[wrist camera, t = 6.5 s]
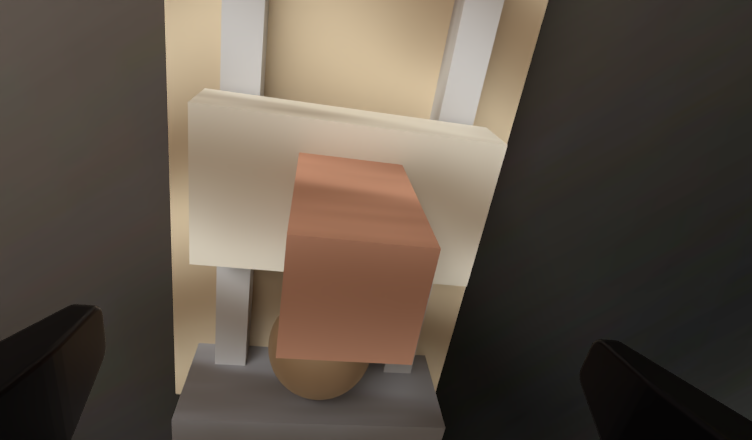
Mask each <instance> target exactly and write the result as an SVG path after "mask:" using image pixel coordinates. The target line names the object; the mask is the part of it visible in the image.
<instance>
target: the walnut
mask: <svg viewBox="0 0 752 440" xmlns="http://www.w3.org/2000/svg"><path fill="white" fill-rule="evenodd" d="M279 316H280V314H279ZM279 316H278V317H277V319H276V320H275V322H274V324H273V326H272V329H271V332H270V336H269V342H268V353H269V359H270V363H271V366H272V369H273V371H274V373H275V375H276V377H277V378H278V380H279V381H280V382H281V383H282V384H283V385H284V386H285V387H286V388H287V389H288V390H290V391H291V392H293V393H294V394H296V395H298V396H301V397H303V398H307V399H312V400H326V399H331V398H335V397H337V396H340V395H342V394H344V393H345V392H347V391H349V390H350V389H352V388H353V387H354V386H355V385H356V384H357V383H358V382H359V381H360V379H361V378H362V377H363V375H364V374H365V372H366V370H367V368H368V366H369V363H363V362H343V361H324V360H304V359H285V358H276V350H277V339H278V328H279Z"/></svg>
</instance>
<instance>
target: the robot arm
mask: <svg viewBox="0 0 752 440" xmlns="http://www.w3.org/2000/svg"><path fill="white" fill-rule="evenodd" d="M105 350H106V342H105V333H104V324H103V315H102V311H101V309H100V308H99V307H98V306H94V305H79V304H73V305H70V306H68V307H66V308H64V309H62V310H60V311H58V312H56V313H54V314H52V315H50V316H48V317H46V318H44V319H42V320H41V321H39V322H37V323H35V324H33V325H31V326H29V327H27V328H25V329H23V330H21V331H19V332H17V333H15V334H13V335H12V336H10V337H8V338H6V339H4V340H2V341H0V440H71V438H72V436H73V434H74V431H75V429H76V426H77V424H78V421H79V419H80V416H81V414H82V411H83V409H84V406H85V404H86V401H87V399H88V396H89V394H90V391H91V389H92V386H93V384H94V381H95V379H96V376H97V374H98V371H99V369H100V366H101V364H102V361H103V359H104V355H105ZM580 383H581V386H582V389H583V392H584V395H585V397H586V400H587V403H588V406H589V409H590V411H591V414H592V417H593V420H594V423H595V425H596V428H597V431H598V434H599V437H600V439H601V440H752V421H750V420H748V419H747V418H745V417H743V416H742V415H740V414H738V413H737V412H735V411H734V410H732V409H730V408H729V407H727V406H725V405H724V404H722V403H720V402H719V401H717V400H715V399H714V398H712V397H710V396H709V395H707V394H705V393H704V392H702V391H700V390H699V389H697V388H695V387H694V386H692V385H690V384H689V383H687V382H686V381H684V380H682V379H681V378H679V377H677V376H676V375H674V374H672V373H671V372H669V371H667V370H666V369H664V368H662V367H661V366H659V365H657V364H656V363H654V362H652V361H651V360H649V359H647V358H646V357H644V356H643V355H641V354H639V353H638V352H636V351H634V350H633V349H631V348H629V347H628V346H626V345H624V344H623V343H621V342H619V341H616V340H603V339H599V340H596V341H595V342H594V343H593V344H592V346H591V348H590V350H589V352H588V355H587V357H586V359H585V361H584V363H583V366H582V368H581V370H580Z"/></svg>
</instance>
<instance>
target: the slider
mask: <svg viewBox="0 0 752 440" xmlns="http://www.w3.org/2000/svg"><path fill="white" fill-rule="evenodd" d="M506 149H507V144H506V143H505V142H503V141H502V140H501V139H500V138H499V137H497V136H496V135H495V134H494V133H493V132H491V131H490V130H489V129H488V128H486V127H480V126H473V125H466V124H458V123H451V122H444V121H437V120H430V119H423V118H415V117H408V116H401V115H394V114H387V113H380V112H372V111H365V110H358V109H351V108H344V107H337V106H329V105H322V104H315V103H308V102H301V101H294V100H286V99H279V98H272V97H265V96H258V95H251V94H243V93H236V92H229V91H222V90H215V89H208V88H205V89H203V90H202V91H201V92H200V93H198V94H197V95H196V96H195V97H193V98H192V99H191V100H190V101H188V175H189V264H194V265H206V266H218V267H231V268H243V269H256V270H268V271H280V272H283V283H282V294H281V305H280V316H279V328H278V339H277V350H276V358H285V359H304V360H324V361H343V362H363V363H382V364H402V365H412V362H413V358H414V354H415V350H416V346H417V343H418V339H419V335H420V331H421V327H422V323H423V319H424V315H425V311H426V307H427V303H428V299H429V295H430V291H431V287H432V284H441V285H454V286H466V287H467V284H468V280H469V277H470V274H471V270H472V267H473V263H474V260H475V256H476V253H477V249H478V246H479V242H480V239H481V235H482V232H483V229H484V225H485V222H486V218H487V215H488V211H489V208H490V204H491V201H492V197H493V194H494V190H495V187H496V184H497V180H498V177H499V173H500V170H501V166H502V163H503V159H504V156H505V152H506Z"/></svg>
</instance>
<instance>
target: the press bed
mask: <svg viewBox="0 0 752 440" xmlns="http://www.w3.org/2000/svg"><path fill="white" fill-rule="evenodd" d="M164 2H165V37H166V72H167V106H168V141H169V176H170V211H171V246H172V281H173V316H174V351H175V386H176V394H181V395H180V398H179V400H178V403H177V406H176V409H175V412H174V415H173V417H172V440H442V437H443V434H444V431H445V425H444V421H443V418H442V414H441V410H440V407H439V403H438V400H437V396H436V393H435V392H436V389H437V385H438V382H439V378H440V375H441V371H442V368H443V365H444V361H445V358H446V354H447V351H448V347H449V344H450V340H451V337H452V333H453V330H454V326H455V323H456V319H457V316H458V312H459V309H460V305H461V302H462V299H463V295H464V292H465V288H466V286H454V285H441V284H432V287H431V291H430V295H429V299H428V303H427V307H426V311H425V315H424V319H423V323H422V327H421V331H420V335H419V339H418V343H417V346H416V350H415V354H414V358H413V362H412V365H402V364H382V363H369V366H368V368H367V370H366V372H365V374H364V375H363V377H362V378H361V379H360V381H359V382H358V383H357V384H356V385H355V386H354V387H353V388H352V389H350V390H349V391H347V392H345V393H344V394H342V395H340V396H337V397H335V398H331V399H326V400H312V399H307V398H303V397H301V396H298V395H296V394H294V393H293V392H291V391H290V390H288V389H287V388H286V387H285V386H284V385H283V384H282V383H281V382H280V381H279V380H278V378H277V377H276V375H275V373H274V371H273V369H272V366H271V363H270V359H269V353H268V342H269V336H270V332H271V329H272V326H273V324H274V322H275V320H276V319H277V317H278V316H279V314H280V305H281V294H282V283H283V272H280V271H268V270H256V269H243V268H231V267H218V266H206V265H194V264H189V175H188V101H190V100H191V99H192V98H193V97H195V96H196V95H197V94H198V93H200V92H201V91H202V90H203V89H205V88H208V89H215V90H222V91H229V92H236V93H243V94H251V95H258V96H265V97H272V98H279V99H286V100H294V101H301V102H308V103H315V104H322V105H329V106H337V107H344V108H351V109H358V110H365V111H372V112H380V113H387V114H394V115H401V116H408V117H415V118H423V119H430V120H437V121H444V122H451V123H458V124H466V125H473V126H480V127H486V128H488V129H489V130H490V131H491V132H493V133H494V134H495V135H496V136H497V137H499V138H500V139H501V140H502V141H503V142H505V143H506V144H507V142H508V139H509V135H510V132H511V128H512V125H513V121H514V118H515V114H516V111H517V108H518V104H519V101H520V97H521V94H522V90H523V87H524V83H525V80H526V76H527V73H528V69H529V66H530V62H531V59H532V55H533V52H534V48H535V45H536V42H537V38H538V35H539V31H540V28H541V24H542V21H543V17H544V14H545V10H546V7H547V3H548V0H164Z"/></svg>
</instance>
